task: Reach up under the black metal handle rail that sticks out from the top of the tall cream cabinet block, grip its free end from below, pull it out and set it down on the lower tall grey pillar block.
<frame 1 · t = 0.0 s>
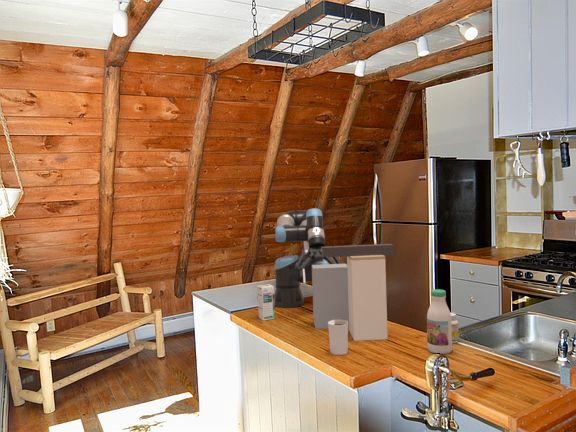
hand: (320, 283, 191), 15 cm above the counter, tool tilted 35°, fingers open, 13 cm apart
milk bottle: (439, 351, 149), on the counter
cabinet block: (367, 335, 168), on the counter
tall grey pillar block: (331, 325, 182), on the counter
handle rail: (357, 255, 166), point 30 cm above the counter, touching cabinet block
white cup: (338, 352, 151), on the counter
syrup box: (267, 319, 196), on the counter
supplement bottle: (450, 341, 158), on the counter
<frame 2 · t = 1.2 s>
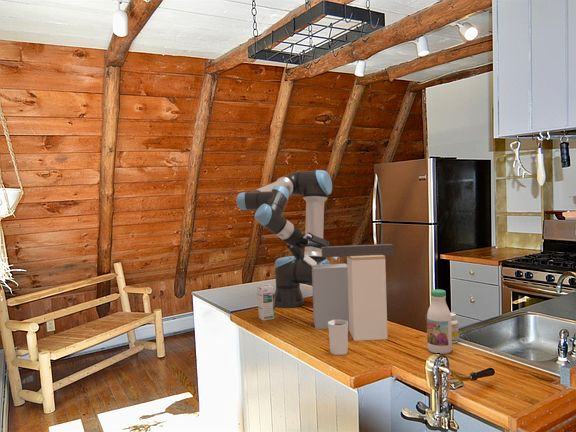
hand: (326, 261, 189), 25 cm above the counter, tool tilted 50°, fingers open, 12 cm apart
nothing on the counter moved.
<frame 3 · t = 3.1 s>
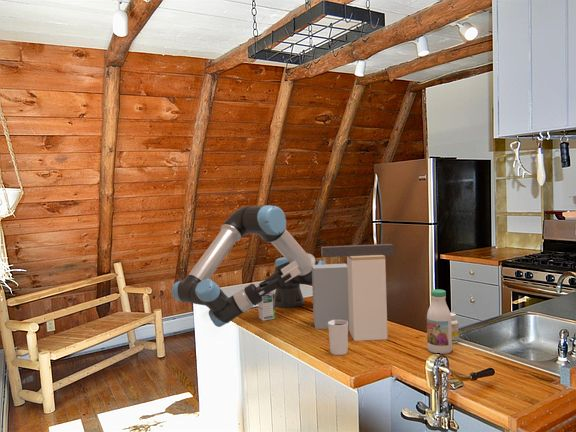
hand: (297, 266, 166), 27 cm above the counter, tool pointing upward, fingers open, 13 cm apart
nothing on the counter moved.
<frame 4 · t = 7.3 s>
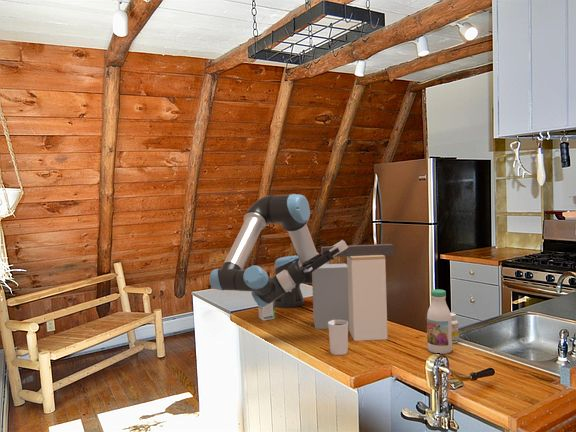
hand: (345, 243, 166), 34 cm above the counter, tool pointing upward, fingers closed on handle rail, 3 cm apart
handle rail: (357, 255, 166), point 30 cm above the counter, touching cabinet block, gripper
everything else where it was.
when the fingers open (29 cm above the counter, at t = 12.4 s): handle rail drops 1 cm, resting on tall grey pillar block.
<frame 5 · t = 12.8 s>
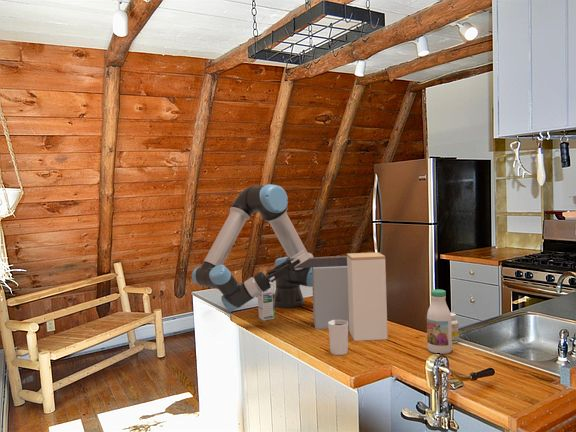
hand: (305, 254, 181), 29 cm above the counter, tool pointing upward, fingers open, 8 cm apart
handle rail: (318, 266, 181), point 24 cm above the counter, touching tall grey pillar block
everything else where it was.
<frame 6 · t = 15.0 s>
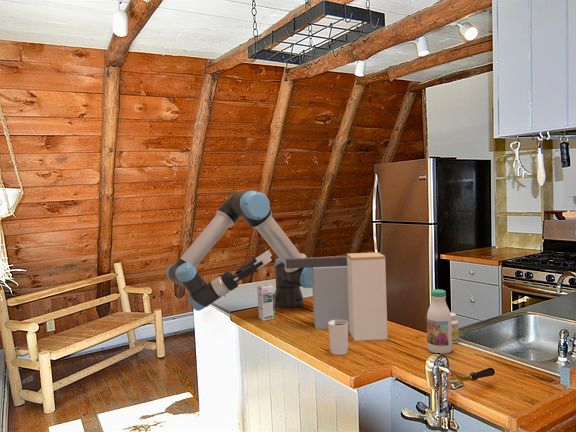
hand: (270, 254, 180), 29 cm above the counter, tool pointing upward, fingers open, 13 cm apart
nothing on the counter moved.
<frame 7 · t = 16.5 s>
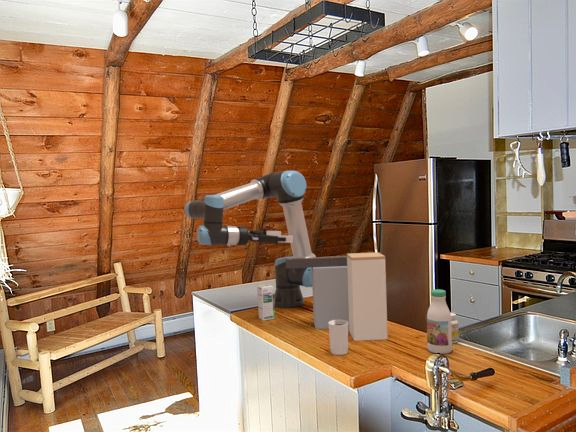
hand: (286, 236, 188), 36 cm above the counter, tool horizontal, fingers open, 13 cm apart
nothing on the counter moved.
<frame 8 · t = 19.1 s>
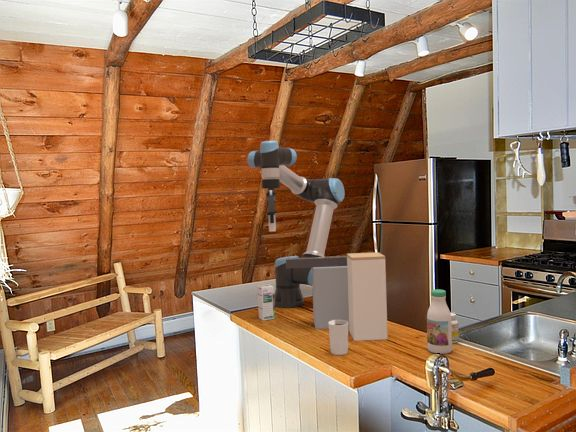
hand: (272, 230, 188), 39 cm above the counter, tool pointing down, fingers open, 13 cm apart
nothing on the counter moved.
at the end: handle rail inside the target area (1.6 cm from its centre), point 24.0 cm above the counter; handle rail touching tall grey pillar block; the gripper is holding nothing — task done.
